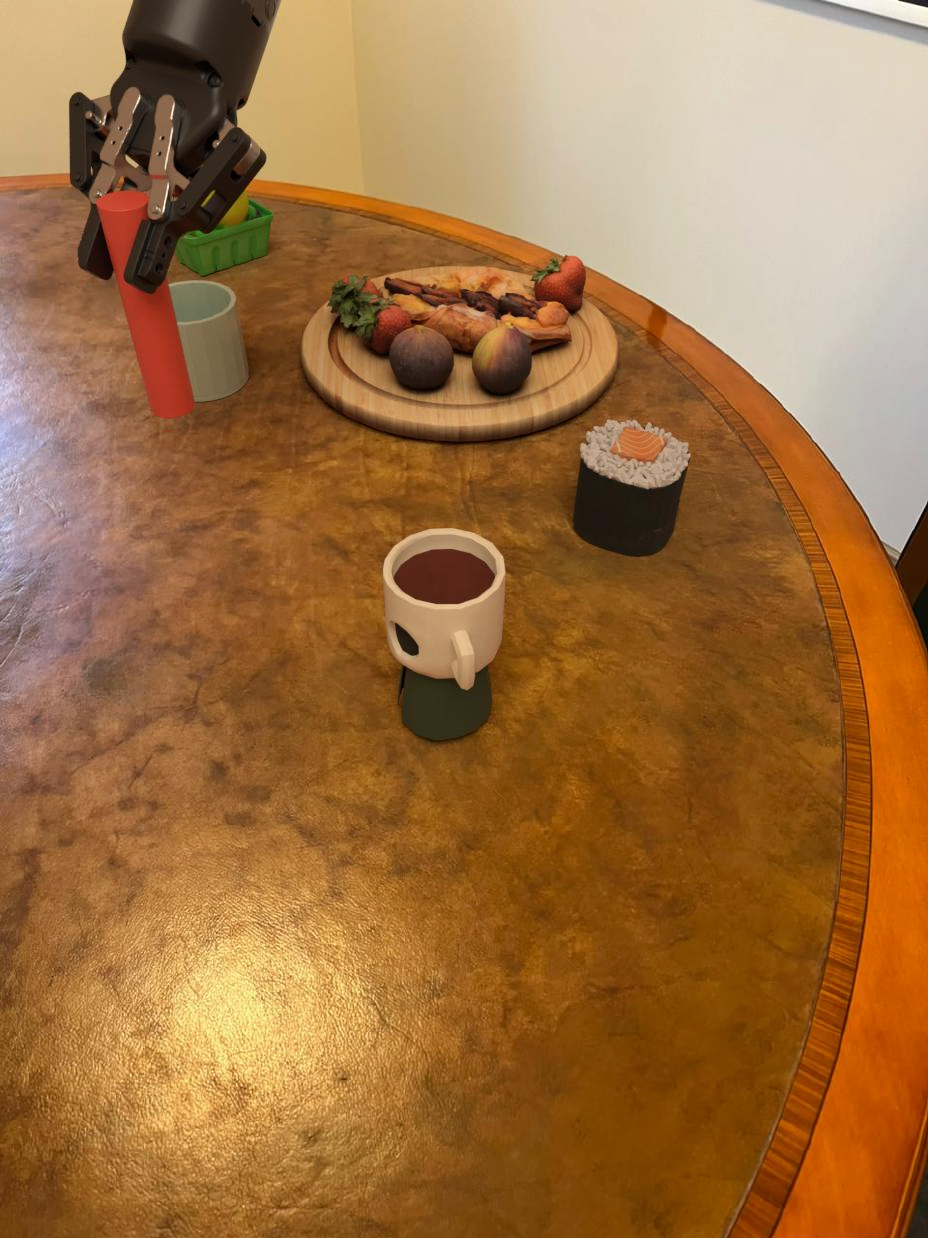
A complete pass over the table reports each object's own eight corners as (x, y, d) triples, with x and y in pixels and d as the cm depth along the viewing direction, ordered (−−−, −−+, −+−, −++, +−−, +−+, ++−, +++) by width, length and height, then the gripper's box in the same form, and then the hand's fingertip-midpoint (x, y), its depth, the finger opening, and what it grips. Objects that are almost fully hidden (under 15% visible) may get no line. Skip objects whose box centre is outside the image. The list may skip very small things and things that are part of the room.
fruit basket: (246, 234, 115) (231, 136, 107) (288, 258, 110) (275, 158, 102) (164, 261, 109) (141, 160, 101) (204, 288, 105) (184, 184, 97)
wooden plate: (547, 268, 109) (552, 196, 103) (673, 413, 88) (689, 333, 82) (275, 307, 102) (264, 232, 96) (342, 475, 80) (333, 392, 75)
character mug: (376, 660, 66) (365, 517, 56) (474, 642, 67) (478, 499, 58) (411, 786, 58) (404, 645, 49) (519, 762, 60) (532, 621, 50)
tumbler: (150, 401, 88) (129, 323, 83) (171, 354, 94) (153, 279, 89) (240, 403, 88) (225, 325, 83) (256, 356, 94) (243, 280, 89)
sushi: (592, 482, 80) (603, 402, 75) (686, 509, 78) (705, 429, 72) (557, 536, 75) (566, 455, 69) (656, 568, 73) (674, 486, 67)
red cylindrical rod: (145, 418, 63) (89, 209, 53) (156, 394, 65) (104, 189, 55) (189, 419, 63) (141, 210, 53) (199, 395, 65) (154, 190, 55)
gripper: (74, -61, 54) (-19, 228, 55) (273, -31, 49) (167, 283, 50) (157, 25, 61) (73, 279, 62) (337, 57, 56) (243, 331, 57)
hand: (116, 279), depth 56 cm, fingers closed on red cylindrical rod, 3 cm apart
